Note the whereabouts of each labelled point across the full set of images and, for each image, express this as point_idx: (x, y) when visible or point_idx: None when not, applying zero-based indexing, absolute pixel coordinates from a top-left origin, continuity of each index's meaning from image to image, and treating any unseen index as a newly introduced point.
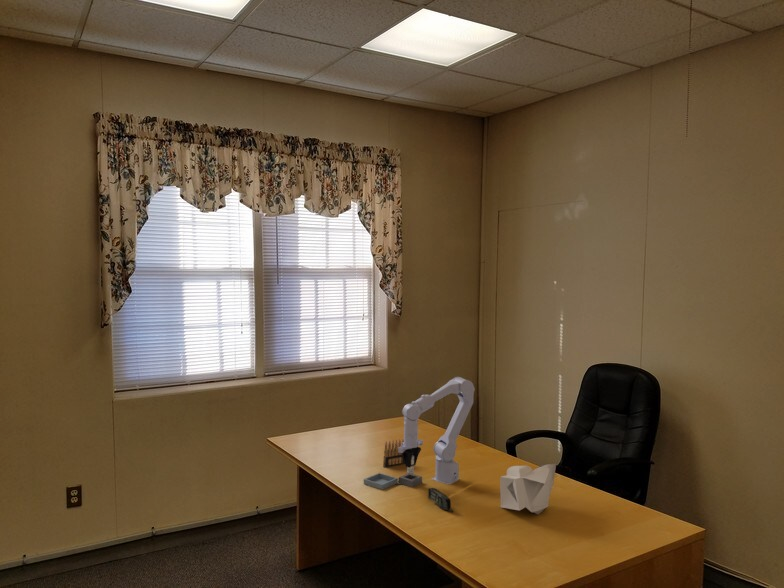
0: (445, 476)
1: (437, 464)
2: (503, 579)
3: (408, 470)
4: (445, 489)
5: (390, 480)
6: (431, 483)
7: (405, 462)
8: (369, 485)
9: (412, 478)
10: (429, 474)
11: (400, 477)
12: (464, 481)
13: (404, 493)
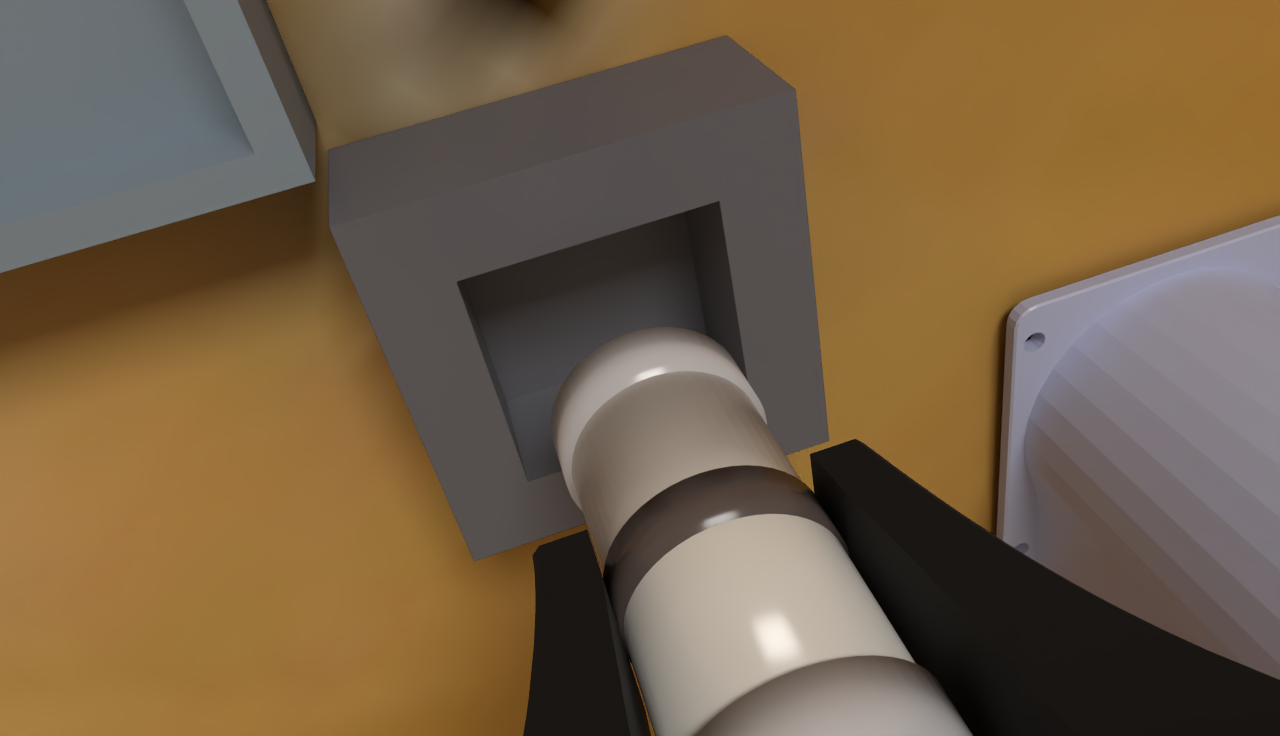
0: (1097, 578)
1: (1249, 619)
2: None
3: (578, 497)
4: None
5: (2, 225)
6: (894, 411)
7: (549, 670)
8: None
9: (707, 249)
10: (1256, 27)
11: (368, 268)
12: None
13: (183, 581)
